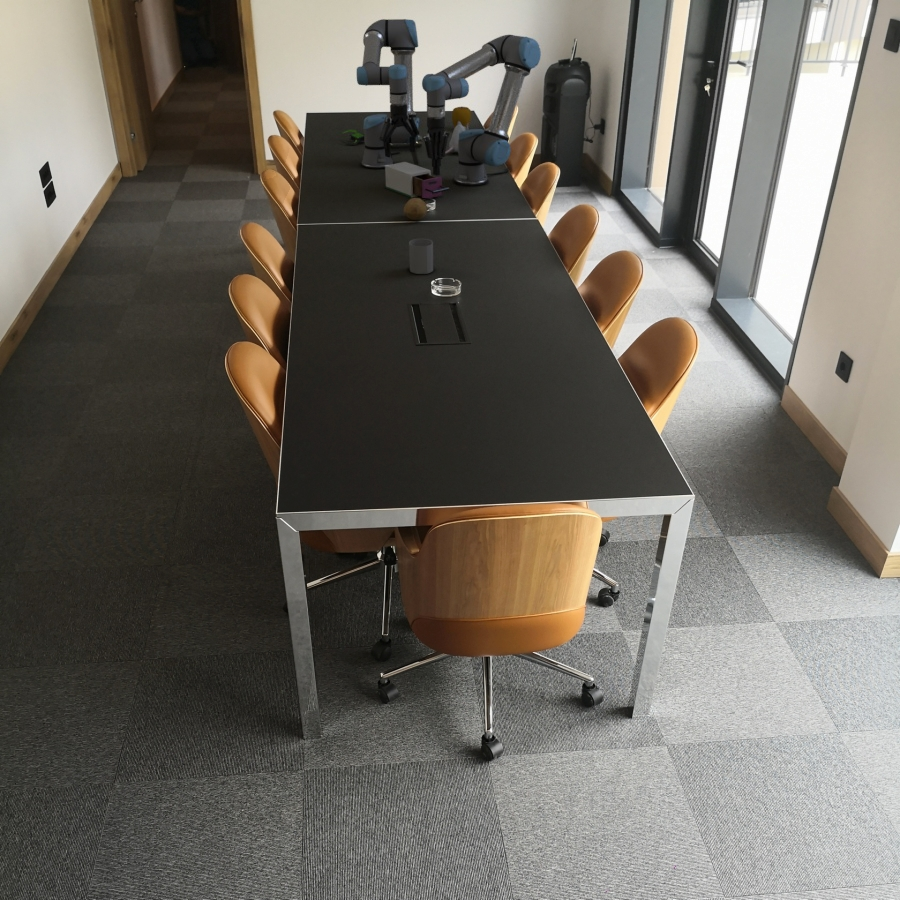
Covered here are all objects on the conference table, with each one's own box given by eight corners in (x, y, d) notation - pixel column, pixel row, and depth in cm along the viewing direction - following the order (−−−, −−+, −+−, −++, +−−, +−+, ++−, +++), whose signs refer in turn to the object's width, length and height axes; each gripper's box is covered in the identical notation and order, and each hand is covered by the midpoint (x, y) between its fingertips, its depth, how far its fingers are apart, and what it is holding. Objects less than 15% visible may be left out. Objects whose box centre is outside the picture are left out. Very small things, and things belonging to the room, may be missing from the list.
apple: (471, 132, 486) (471, 108, 479) (451, 132, 486) (451, 108, 479) (470, 128, 495) (471, 104, 488) (452, 128, 495) (452, 104, 488)
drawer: (450, 198, 378) (450, 179, 374) (432, 202, 373) (432, 184, 368) (417, 186, 393) (417, 168, 389) (399, 190, 388) (399, 172, 383)
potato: (426, 213, 362) (426, 194, 358) (428, 224, 351) (428, 204, 346) (403, 213, 362) (402, 194, 358) (404, 224, 350) (403, 205, 346)
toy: (474, 152, 449) (475, 122, 441) (443, 160, 434) (443, 129, 426) (462, 149, 454) (462, 119, 446) (430, 157, 439) (430, 126, 431)
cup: (409, 265, 311) (408, 238, 306) (432, 265, 312) (431, 238, 307) (410, 274, 304) (409, 246, 299) (433, 273, 305) (433, 246, 299)
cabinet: (431, 192, 388) (430, 170, 383) (410, 197, 382) (410, 174, 377) (405, 183, 400) (405, 161, 395) (385, 188, 394) (385, 165, 389)
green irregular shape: (396, 126, 467) (340, 124, 465) (396, 141, 460) (339, 139, 458) (396, 136, 472) (341, 134, 470) (396, 151, 465) (340, 149, 463)
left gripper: (380, 109, 366) (382, 160, 378) (426, 101, 379) (427, 151, 391) (369, 106, 371) (372, 157, 382) (416, 99, 384) (417, 148, 396)
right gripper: (429, 120, 353) (429, 179, 366) (453, 116, 360) (453, 173, 373) (418, 117, 358) (419, 175, 371) (442, 113, 365) (442, 170, 378)
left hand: (400, 154), depth 387 cm, fingers open, 13 cm apart
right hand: (436, 174), depth 372 cm, fingers closed
